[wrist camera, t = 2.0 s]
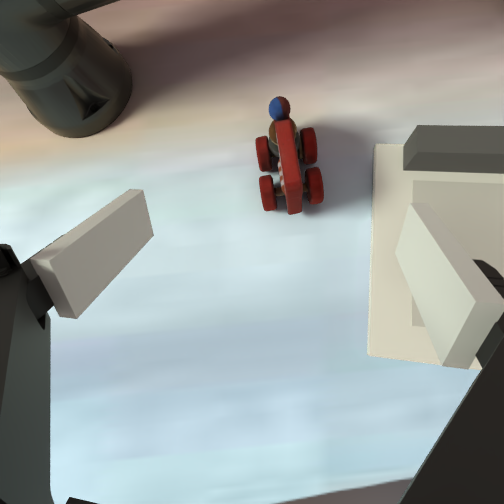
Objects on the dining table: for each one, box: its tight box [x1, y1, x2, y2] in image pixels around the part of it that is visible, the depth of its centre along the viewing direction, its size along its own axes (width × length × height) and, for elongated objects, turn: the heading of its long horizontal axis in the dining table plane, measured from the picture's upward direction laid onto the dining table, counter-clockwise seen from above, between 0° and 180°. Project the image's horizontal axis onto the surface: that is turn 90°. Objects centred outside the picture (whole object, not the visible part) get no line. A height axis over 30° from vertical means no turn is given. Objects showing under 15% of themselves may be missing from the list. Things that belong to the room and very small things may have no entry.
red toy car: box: [256, 96, 324, 215], centre depth 31 cm, size 7×12×10 cm, turn 6°
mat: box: [367, 144, 504, 370], centre depth 31 cm, size 24×18×1 cm
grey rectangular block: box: [403, 125, 504, 174], centre depth 31 cm, size 3×12×4 cm, turn 84°
